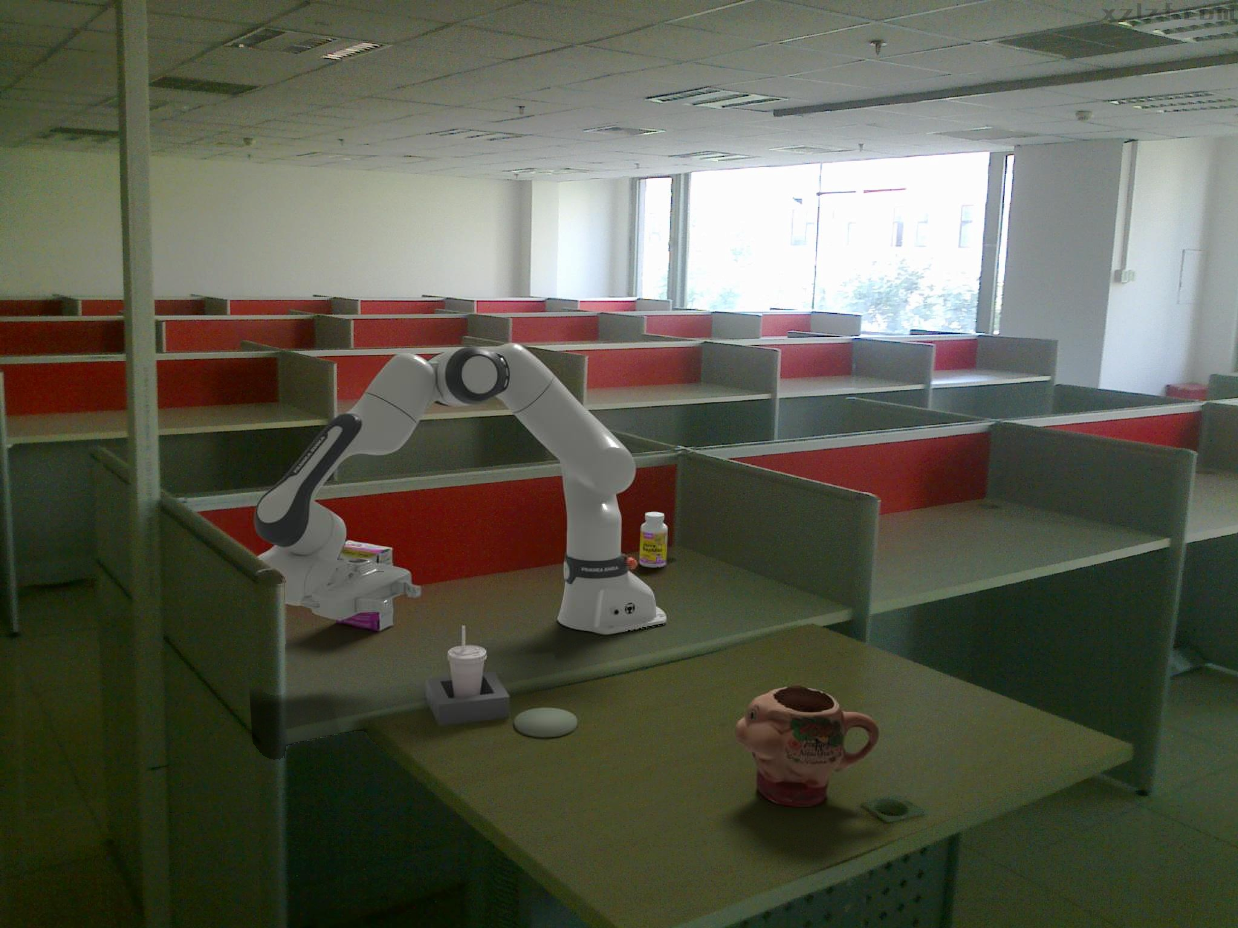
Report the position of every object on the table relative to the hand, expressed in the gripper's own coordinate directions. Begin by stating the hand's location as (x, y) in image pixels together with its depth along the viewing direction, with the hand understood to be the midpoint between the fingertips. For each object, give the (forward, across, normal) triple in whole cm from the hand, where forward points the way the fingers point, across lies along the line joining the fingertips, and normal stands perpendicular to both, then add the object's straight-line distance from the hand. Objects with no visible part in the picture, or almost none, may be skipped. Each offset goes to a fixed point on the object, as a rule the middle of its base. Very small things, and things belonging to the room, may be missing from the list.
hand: (402, 599), depth 177 cm
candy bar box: (-27, +26, +17) cm, 41 cm away
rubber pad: (+27, 0, +16) cm, 32 cm away
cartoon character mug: (+70, -3, +16) cm, 72 cm away
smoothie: (+12, 0, +17) cm, 21 cm away
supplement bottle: (+8, +95, +16) cm, 97 cm away
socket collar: (+12, 0, +17) cm, 21 cm away
